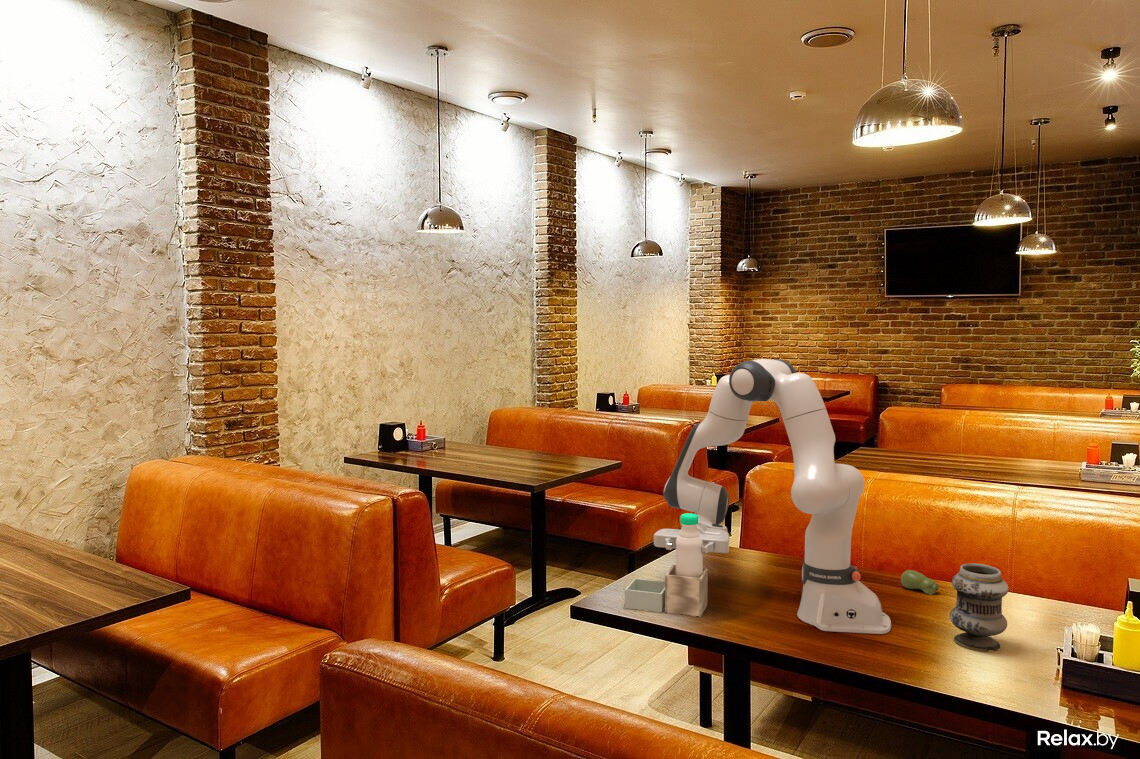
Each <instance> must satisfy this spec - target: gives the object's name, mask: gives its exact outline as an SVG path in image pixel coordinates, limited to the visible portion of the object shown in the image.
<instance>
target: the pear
mask: <svg viewBox="0 0 1140 759" xmlns="http://www.w3.org/2000/svg"><path fill="white" fill-rule="evenodd" d="M900 582H901V584H902V586H903V587H904V588H906V589H908V590H921V591H922V592H923V593H925V594H926V595H930V596H932V595H934V594H936V593H937V591H938V590H939V589H940V588H939V586H940V585H939V584H938V583H937V582H936V581H935V580H933V579H932V578H929V577H927V576H926V575H924V573H921V572H919V571H917V570H914V569H907V570H905V571H903V572H902V574H901V576H900Z"/></svg>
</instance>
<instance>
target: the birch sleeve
mask: <svg viewBox="0 0 1140 759" xmlns="http://www.w3.org/2000/svg"><path fill="white" fill-rule="evenodd" d="M664 576H665V577H664V582H665V609H664V613H665V612H667V613H666V614H672V613H675V614H674V615H680V614H683V615H682V616H688V615H690V616H689V617H696V616H699V617H698V618H701V617H702V616H703V614H704V612H705V610H706V608H707V606H708V568H707V567H703V573H702V575H701V577H700V578H694V577H684V576H676V564H672V566H670V568H669V569H668V571H667V572H666V573H665V574H664Z"/></svg>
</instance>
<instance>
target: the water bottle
mask: <svg viewBox="0 0 1140 759" xmlns="http://www.w3.org/2000/svg"><path fill="white" fill-rule="evenodd" d="M679 522H680V525H681V528H682V529H681V528H680V529H679V530H680V532H679V535H678V537H677V539H676V546H677V548H676V550H675V565H676V576H684V577H694V578H700V577H701V575H702V573H703V568H704V567H703V564H704V563H703V562H704V561H703V560H704V559H703V557H704V556H703V553H701V551H702V549H701V547H702V546H703V541H702V538H701V536H700V534H699V532H698V530H697V525H698V516H697V515H696V514H694V513H693V512H690V513H688V512H686V513H683V514H681V515H680V517H679Z"/></svg>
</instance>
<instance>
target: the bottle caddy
mask: <svg viewBox="0 0 1140 759" xmlns="http://www.w3.org/2000/svg"><path fill="white" fill-rule="evenodd" d="M627 608H628V610H635V609H639V610H638V611H643V610H649V611H648V612H652V611H655V612H654V613H660V612H662V611H663V612H664V611H665V609H664V608H665V580H664V581H662V580H655V579H644V578H635V577H634V579H633V580H632V581H631V582H630V583H629V584H628V585H627V587H626V588H624V609H627ZM663 612H662V613H663Z"/></svg>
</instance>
